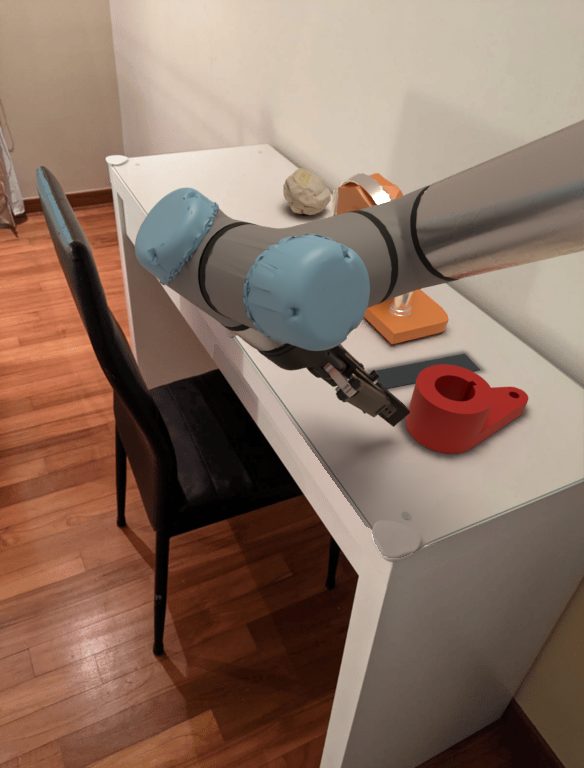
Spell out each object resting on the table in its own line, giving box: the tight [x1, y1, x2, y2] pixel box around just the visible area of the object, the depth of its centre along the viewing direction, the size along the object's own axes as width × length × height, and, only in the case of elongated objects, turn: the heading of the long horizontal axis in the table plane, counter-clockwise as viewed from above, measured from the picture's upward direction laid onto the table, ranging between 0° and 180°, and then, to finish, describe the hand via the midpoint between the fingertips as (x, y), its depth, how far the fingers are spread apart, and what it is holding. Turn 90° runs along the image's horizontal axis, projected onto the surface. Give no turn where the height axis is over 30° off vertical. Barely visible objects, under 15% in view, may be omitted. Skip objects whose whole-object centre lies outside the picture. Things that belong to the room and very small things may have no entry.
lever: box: [405, 364, 529, 455], centre depth 79 cm, size 18×9×7 cm, turn 115°
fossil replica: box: [282, 167, 332, 216], centre depth 125 cm, size 12×8×10 cm
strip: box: [370, 353, 481, 390], centre depth 88 cm, size 4×16×1 cm, turn 112°
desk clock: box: [329, 172, 449, 345], centre depth 98 cm, size 12×30×20 cm, turn 27°
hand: (399, 415), depth 74 cm, fingers closed
